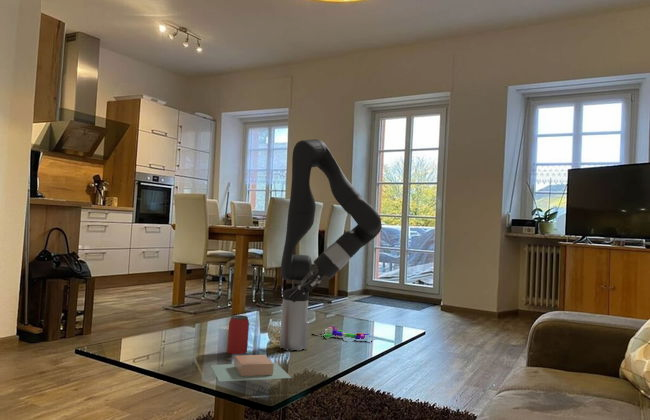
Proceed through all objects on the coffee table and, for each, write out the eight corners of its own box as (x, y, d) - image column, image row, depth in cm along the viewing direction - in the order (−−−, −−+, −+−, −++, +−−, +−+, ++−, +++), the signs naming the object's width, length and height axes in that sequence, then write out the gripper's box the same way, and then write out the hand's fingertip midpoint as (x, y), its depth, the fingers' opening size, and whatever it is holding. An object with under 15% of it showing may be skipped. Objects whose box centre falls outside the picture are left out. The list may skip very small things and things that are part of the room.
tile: (264, 354, 141) (234, 355, 138) (273, 363, 132) (241, 364, 129) (263, 365, 141) (233, 366, 138) (272, 375, 132) (241, 377, 128)
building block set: (381, 337, 200) (381, 326, 200) (368, 346, 181) (369, 335, 181) (326, 330, 209) (326, 319, 209) (308, 338, 190) (309, 326, 190)
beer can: (229, 356, 152) (232, 318, 152) (224, 351, 158) (227, 315, 158) (249, 355, 155) (252, 318, 155) (243, 350, 161) (246, 314, 161)
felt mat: (275, 364, 146) (275, 362, 146) (291, 380, 131) (291, 377, 131) (209, 367, 138) (210, 365, 138) (219, 383, 123) (219, 381, 123)
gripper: (320, 249, 151) (281, 287, 150) (327, 253, 138) (284, 295, 137) (336, 266, 152) (297, 304, 151) (344, 271, 139) (301, 313, 137)
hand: (291, 299), depth 144 cm, fingers closed
